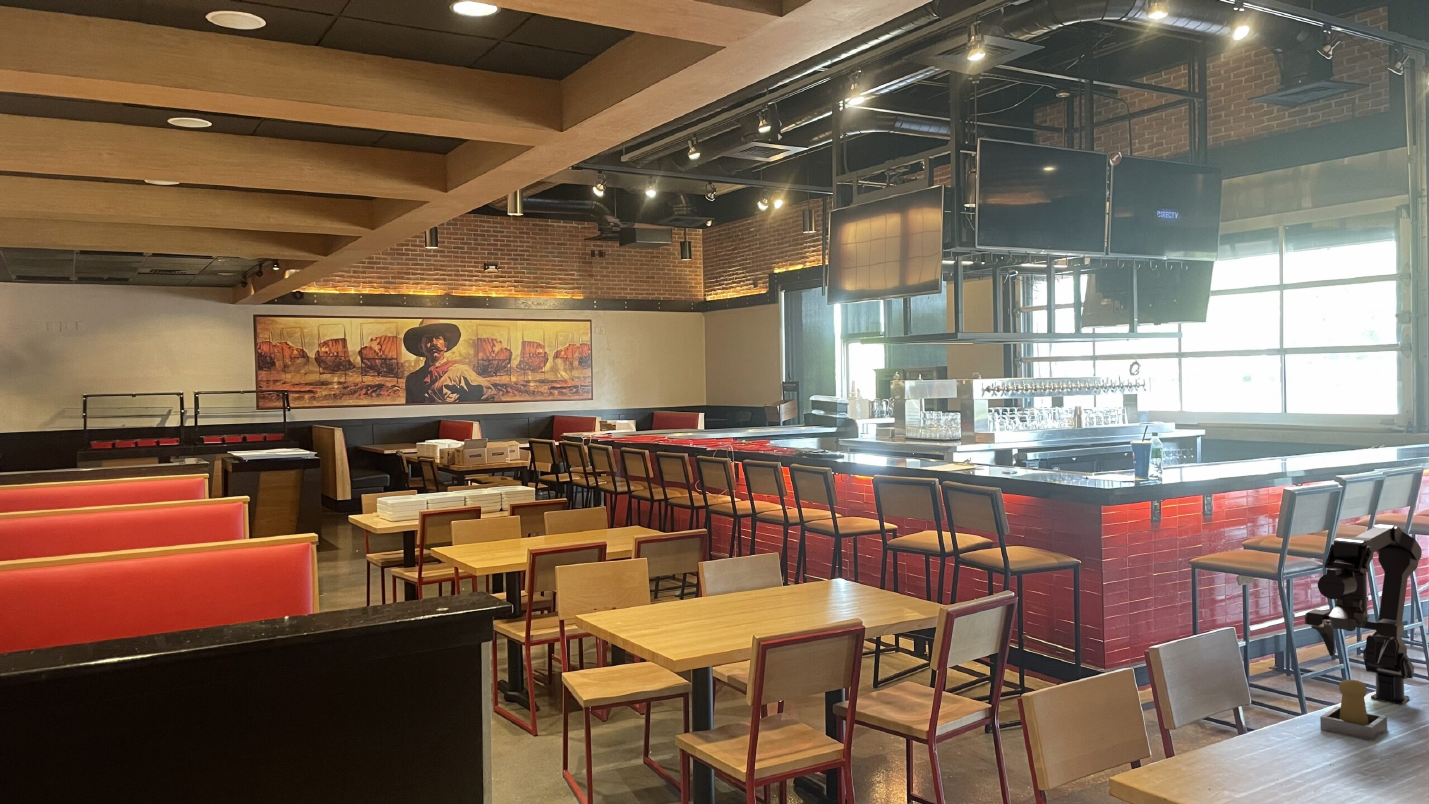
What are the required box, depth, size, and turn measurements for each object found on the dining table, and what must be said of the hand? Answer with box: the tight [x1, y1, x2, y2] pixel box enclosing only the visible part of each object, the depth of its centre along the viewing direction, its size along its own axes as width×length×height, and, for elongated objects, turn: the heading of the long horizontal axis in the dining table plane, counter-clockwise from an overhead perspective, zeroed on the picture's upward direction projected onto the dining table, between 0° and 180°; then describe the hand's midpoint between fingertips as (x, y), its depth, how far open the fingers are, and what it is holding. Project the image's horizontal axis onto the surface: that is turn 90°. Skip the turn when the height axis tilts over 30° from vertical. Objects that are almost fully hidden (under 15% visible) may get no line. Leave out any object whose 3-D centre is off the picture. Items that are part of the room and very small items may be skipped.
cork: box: [1338, 679, 1369, 725], centre depth 217 cm, size 6×6×11 cm
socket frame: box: [1319, 705, 1388, 742], centre depth 217 cm, size 10×10×3 cm
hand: (1353, 659), depth 226 cm, fingers open, 9 cm apart
